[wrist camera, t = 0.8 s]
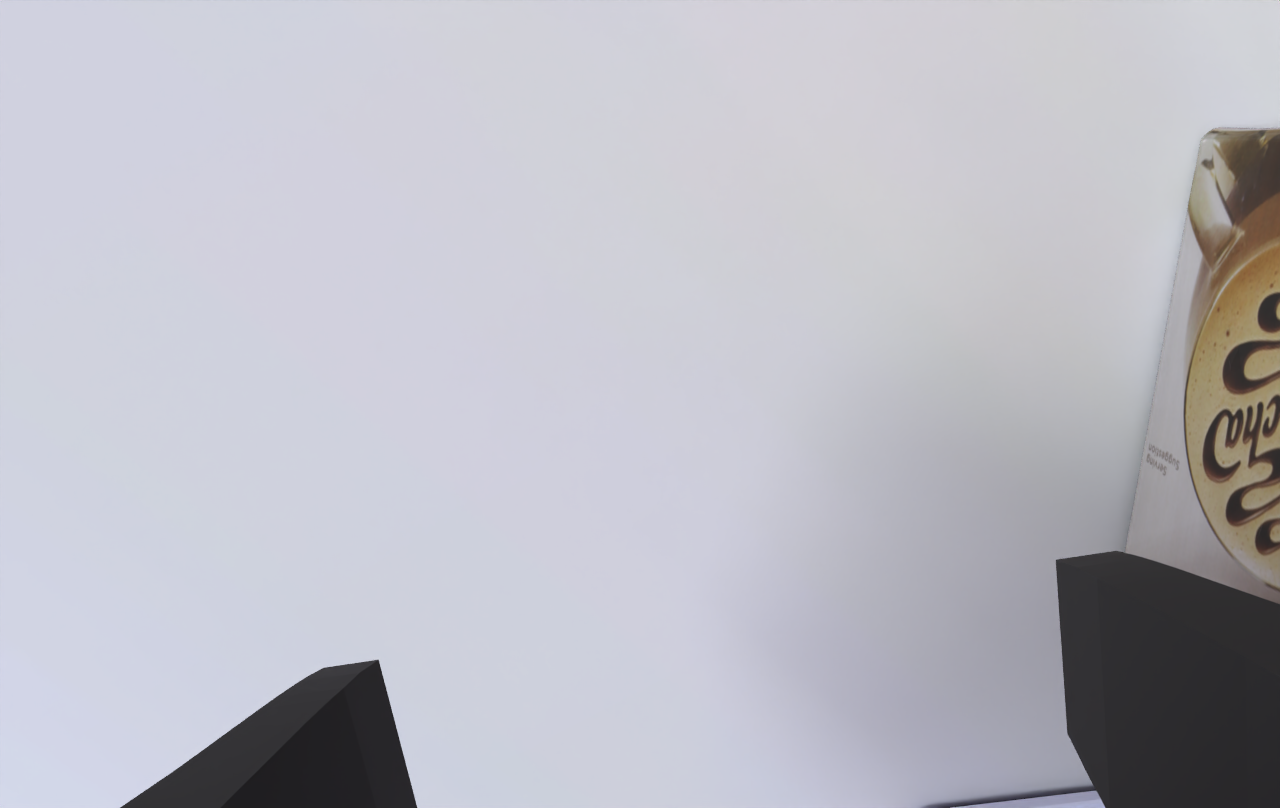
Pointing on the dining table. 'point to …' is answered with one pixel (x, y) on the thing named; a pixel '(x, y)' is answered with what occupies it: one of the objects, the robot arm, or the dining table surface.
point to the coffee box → (1220, 379)
